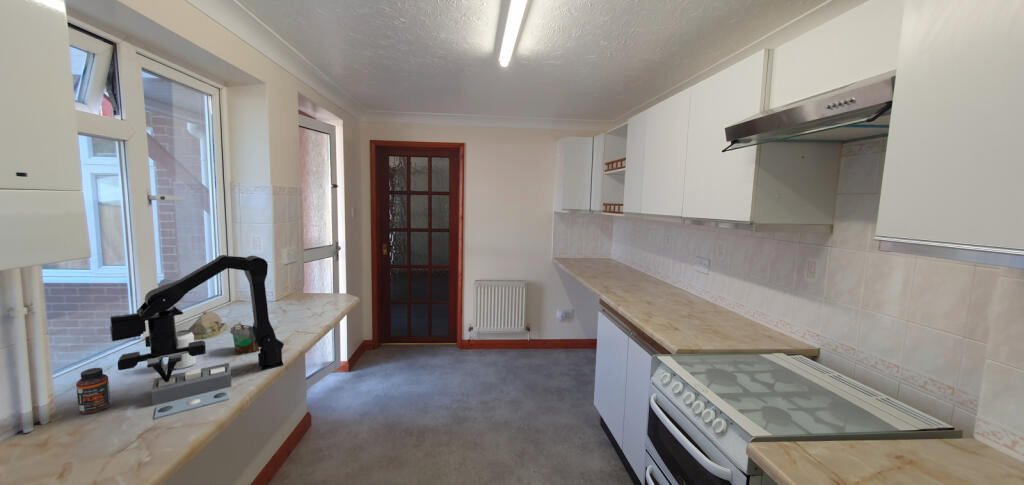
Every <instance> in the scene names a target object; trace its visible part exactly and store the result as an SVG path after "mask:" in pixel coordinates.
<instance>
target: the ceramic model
mask: <svg viewBox="0 0 1024 485" xmlns="http://www.w3.org/2000/svg"><path fill="white" fill-rule="evenodd" d="M222 320H223V318H221V317H220V316H219V314H218V313H216V312H214V311H206V310H205V311H204V312H202V314H201V315H200V316H199V317H198V318H197V320H195V322H194V323H193V324H192V325H191V326H190V327H189V328H188V329H187V330H191V331H192V333H193V335H194V340H207V339H212V338H215V337H217V336H220V335H221V334H222V333H224V332H225V331H226V329H227V327H228V325H227V323H226V322H222Z"/></svg>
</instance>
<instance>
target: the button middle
mask: <svg viewBox="0 0 1024 485" xmlns="http://www.w3.org/2000/svg"><path fill="white" fill-rule="evenodd" d="M201 369H202V368H200V367H199V368H195V369H189V370H185V371H184V372H185V381H187V380H192V379H196V378H201Z"/></svg>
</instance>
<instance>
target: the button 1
mask: <svg viewBox="0 0 1024 485" xmlns="http://www.w3.org/2000/svg"><path fill="white" fill-rule="evenodd" d="M174 383H176V379H175V377H174V378H170V379H169V382H165V381H164V380H160V381H159V384H158V387H160V386H165V385H169V384H174Z"/></svg>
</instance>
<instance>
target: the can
mask: <svg viewBox="0 0 1024 485" xmlns="http://www.w3.org/2000/svg"><path fill="white" fill-rule="evenodd" d="M176 337H177V340H178V347H177V348H182V347H188V346H189V343H191V342H195V339H194V335H193V333H192V331H191V330H188V329H183V330H182V329H181V330H176ZM196 358H197V357H196V356H191V355H189V353H185V354H182V359H181V361H179V362H177V363H176V365H175V366H174V368H173V370H182V369H187V368H191V367H192V366H194V365H195V364H196V363H197V360H196Z"/></svg>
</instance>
